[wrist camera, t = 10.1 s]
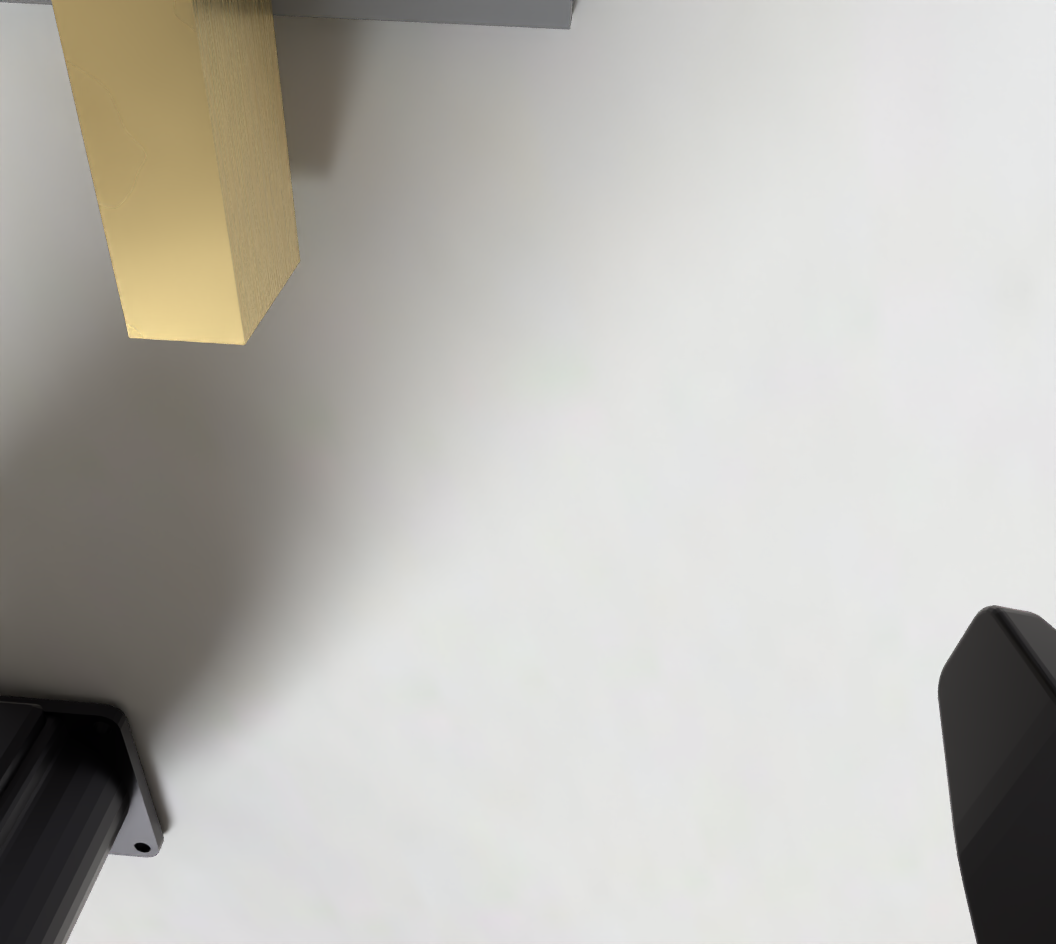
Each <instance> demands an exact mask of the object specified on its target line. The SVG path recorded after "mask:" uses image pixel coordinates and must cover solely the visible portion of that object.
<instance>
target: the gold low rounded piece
mask: <svg viewBox="0 0 1056 944" xmlns="http://www.w3.org/2000/svg"><path fill="white" fill-rule="evenodd" d="M51 1H52V5H53V10H54V14H55V18H56V23H57V27H58V31H59V36H60V40H61V44H62V49H63V53H64V57H65V62H66V66H67V70H68V75H69V79H70V83H71V88H72V92H73V97H74V101H75V105H76V110H77V114H78V118H79V123H80V127H81V131H82V136H83V140H84V144H85V149H86V153H87V157H88V162H89V166H90V170H91V175H92V179H93V183H94V188H95V192H96V196H97V201H98V205H99V209H100V214H101V218H102V222H103V227H104V231H105V236H106V240H107V244H108V249H109V253H110V257H111V262H112V266H113V270H114V275H115V279H116V283H117V288H118V292H119V296H120V301H121V305H122V309H123V314H124V318H125V322H126V327H127V331H128V335H129V338H139V339H155V340H172V341H188V342H204V343H220V344H236V345H245V344H246V343H247V341H248V340H249V338H250V337H251V335H252V333H253V332H254V330H255V329H256V327H257V326H258V324H259V323H260V321H261V320H262V318H263V317H264V315H265V314H266V312H267V311H268V309H269V308H270V306H271V305H272V303H273V302H274V300H275V299H276V297H277V296H278V294H279V293H280V291H281V290H282V288H283V287H284V285H285V284H286V282H287V280H288V279H289V277H290V276H291V274H292V273H293V271H294V270H295V268H296V267H297V265H298V264H299V262H300V256H299V247H298V238H297V229H296V220H295V211H294V202H293V193H292V184H291V175H290V166H289V157H288V148H287V139H286V130H285V121H284V112H283V103H282V94H281V85H280V76H279V67H278V58H277V49H276V40H275V31H274V22H273V13H272V4H271V0H51Z"/></svg>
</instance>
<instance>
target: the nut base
mask: <svg viewBox="0 0 1056 944" xmlns="http://www.w3.org/2000/svg"><path fill="white" fill-rule="evenodd" d="M0 2H8V3H29V4H49V5H52V1H51V0H0ZM271 4H272V13H273V15H280V16H301V17H321V18H342V19H363V20H384V21H405V22H426V23H447V24H468V25H489V26H510V27H531V28H552V29H570V25H571V19H572V6H573V0H271Z"/></svg>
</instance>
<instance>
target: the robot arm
mask: <svg viewBox="0 0 1056 944" xmlns="http://www.w3.org/2000/svg"><path fill="white" fill-rule="evenodd" d="M938 701H939V709H940V718H941V727H942V735H943V744H944V752H945V761H946V770H947V778H948V787H949V795H950V804H951V813H952V821H953V830H954V836H955V843H956V850H957V856H958V861H959V866H960V871H961V876H962V881H963V886H964V890H965V894H966V899H967V903H968V907H969V912H970V916H971V920H972V925H973V929H974V933H975V938H976V942H977V944H1056V629H1054V628H1053V627H1052V626H1051V625H1050V624H1049V623H1047V622H1046V621H1045V620H1044V619H1043V618H1041V617H1040V616H1039V615H1036V614H1034V613H1032V612H1028V611H1023V610H1017V609H1012V608H1007V607H1001V606H996V605H993V606H988V607H985V608H983V609H982V610H981V611H979V612H978V614H977V615H976V616H975V617H974V619H973V621H972V622H971V624H970V625H969V627H968V629H967V630H966V632H965V633H964V635H963V637H962V638H961V640H960V641H959V643H958V645H957V646H956V648H955V649H954V651H953V653H952V654H951V656H950V657H949V659H948V661H947V662H946V664H945V666H944V668H943V670H942V672H941V675H940V679H939V684H938ZM163 841H164V837H163V834H162V831H161V827H160V824H159V821H158V818H157V814H156V811H155V808H154V805H153V802H152V798H151V795H150V792H149V789H148V785H147V782H146V779H145V776H144V772H143V769H142V766H141V763H140V760H139V756H138V753H137V750H136V747H135V743H134V740H133V737H132V734H131V731H130V727H129V724H128V721H127V718H126V716H125V714H124V713H123V712H122V711H121V710H120V709H118V708H116V707H114V706H111V705H106V704H96V703H84V702H71V701H58V700H45V699H33V698H20V697H7V696H0V944H66V943H67V941H68V938H69V936H70V934H71V932H72V930H73V928H74V926H75V924H76V922H77V919H78V917H79V915H80V913H81V911H82V909H83V907H84V905H85V903H86V900H87V898H88V896H89V894H90V892H91V890H92V888H93V886H94V884H95V881H96V879H97V877H98V875H99V873H100V871H101V869H102V867H103V865H104V862H105V860H106V858H107V856H108V854H114V855H125V856H137V857H153V856H156V855H157V854H158V853H159V851H160V848H161V846H162V843H163Z"/></svg>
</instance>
